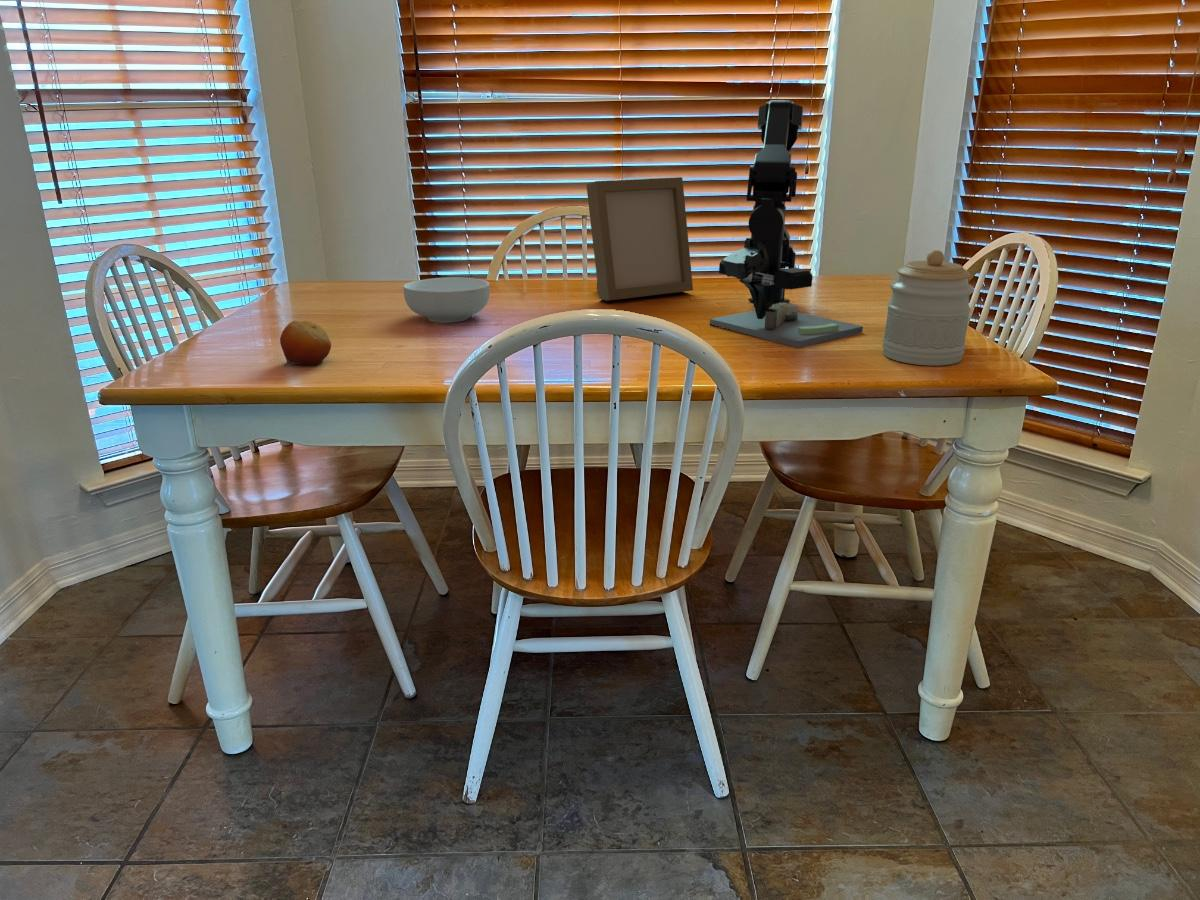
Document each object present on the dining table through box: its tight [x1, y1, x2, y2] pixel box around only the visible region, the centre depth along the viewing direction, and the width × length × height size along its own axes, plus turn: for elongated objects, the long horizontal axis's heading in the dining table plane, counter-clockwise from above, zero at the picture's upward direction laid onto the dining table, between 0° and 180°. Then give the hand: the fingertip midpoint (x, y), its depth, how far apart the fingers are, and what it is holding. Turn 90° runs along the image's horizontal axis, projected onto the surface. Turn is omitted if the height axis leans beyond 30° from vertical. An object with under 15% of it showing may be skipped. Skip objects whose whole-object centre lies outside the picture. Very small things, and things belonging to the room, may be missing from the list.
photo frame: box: [586, 176, 694, 302], centre depth 191 cm, size 15×22×25 cm
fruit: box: [279, 320, 332, 367], centre depth 141 cm, size 8×8×8 cm
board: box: [709, 306, 864, 349], centre depth 163 cm, size 18×22×2 cm
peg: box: [765, 302, 799, 330], centre depth 162 cm, size 12×5×3 cm, turn 153°
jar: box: [882, 249, 975, 367], centre depth 142 cm, size 13×13×18 cm
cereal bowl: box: [402, 276, 491, 324], centre depth 172 cm, size 17×17×7 cm
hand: (760, 318), depth 160 cm, fingers closed
